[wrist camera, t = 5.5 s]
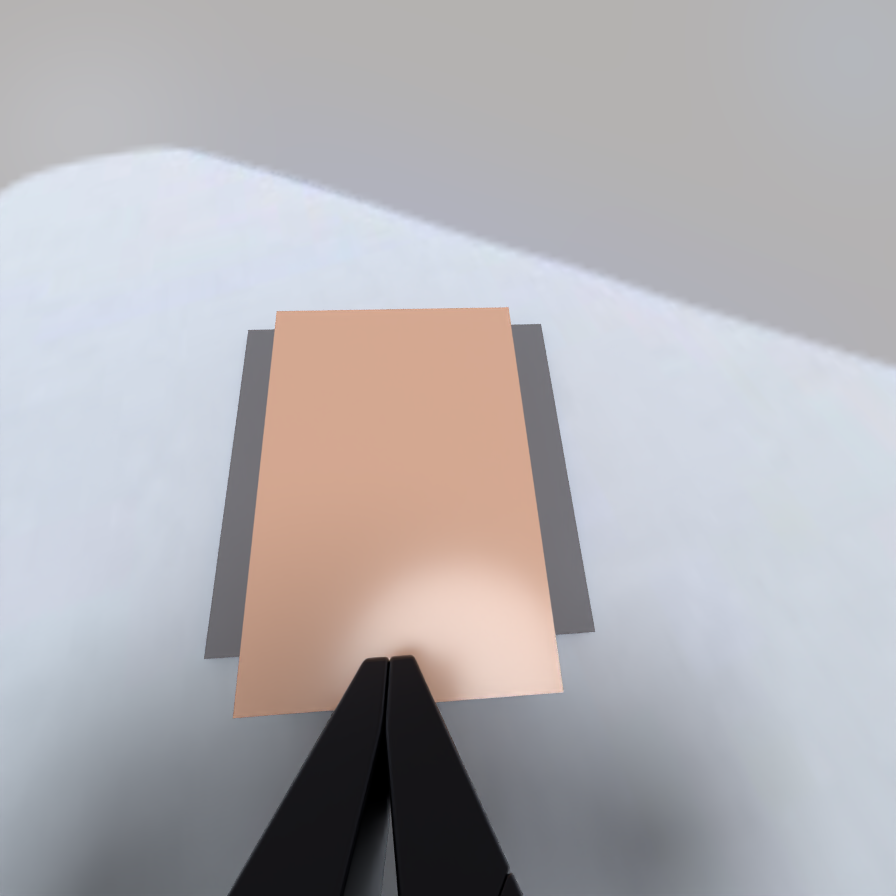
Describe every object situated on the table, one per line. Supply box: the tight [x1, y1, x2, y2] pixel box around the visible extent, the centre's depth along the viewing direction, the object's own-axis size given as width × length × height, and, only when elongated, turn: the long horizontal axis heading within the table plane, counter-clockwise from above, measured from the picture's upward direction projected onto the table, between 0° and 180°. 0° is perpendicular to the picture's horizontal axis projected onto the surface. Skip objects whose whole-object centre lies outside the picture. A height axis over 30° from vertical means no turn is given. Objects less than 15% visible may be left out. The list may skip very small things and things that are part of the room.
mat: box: [204, 324, 595, 659], centre depth 16 cm, size 12×12×1 cm
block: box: [233, 307, 563, 718], centre depth 14 cm, size 3×8×12 cm
